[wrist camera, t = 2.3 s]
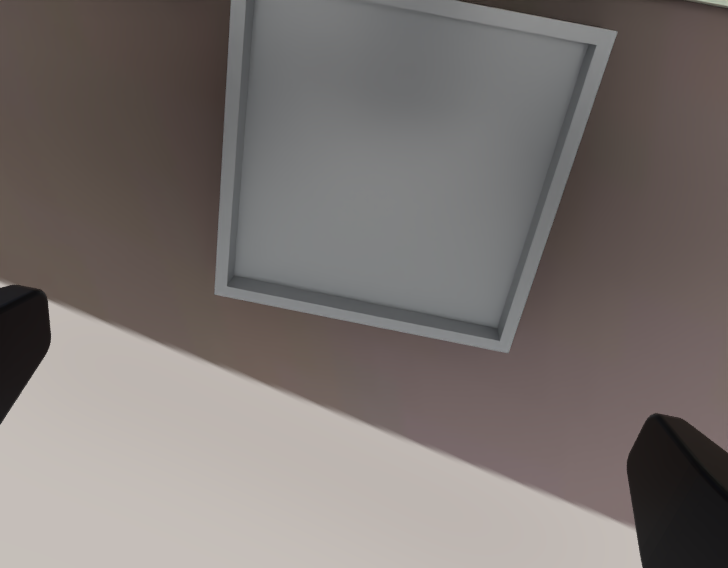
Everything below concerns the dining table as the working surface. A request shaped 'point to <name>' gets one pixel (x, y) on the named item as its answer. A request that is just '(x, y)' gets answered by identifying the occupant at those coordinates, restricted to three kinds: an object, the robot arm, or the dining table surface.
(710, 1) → the green tray
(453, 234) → the grey tray
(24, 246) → the dining table surface
